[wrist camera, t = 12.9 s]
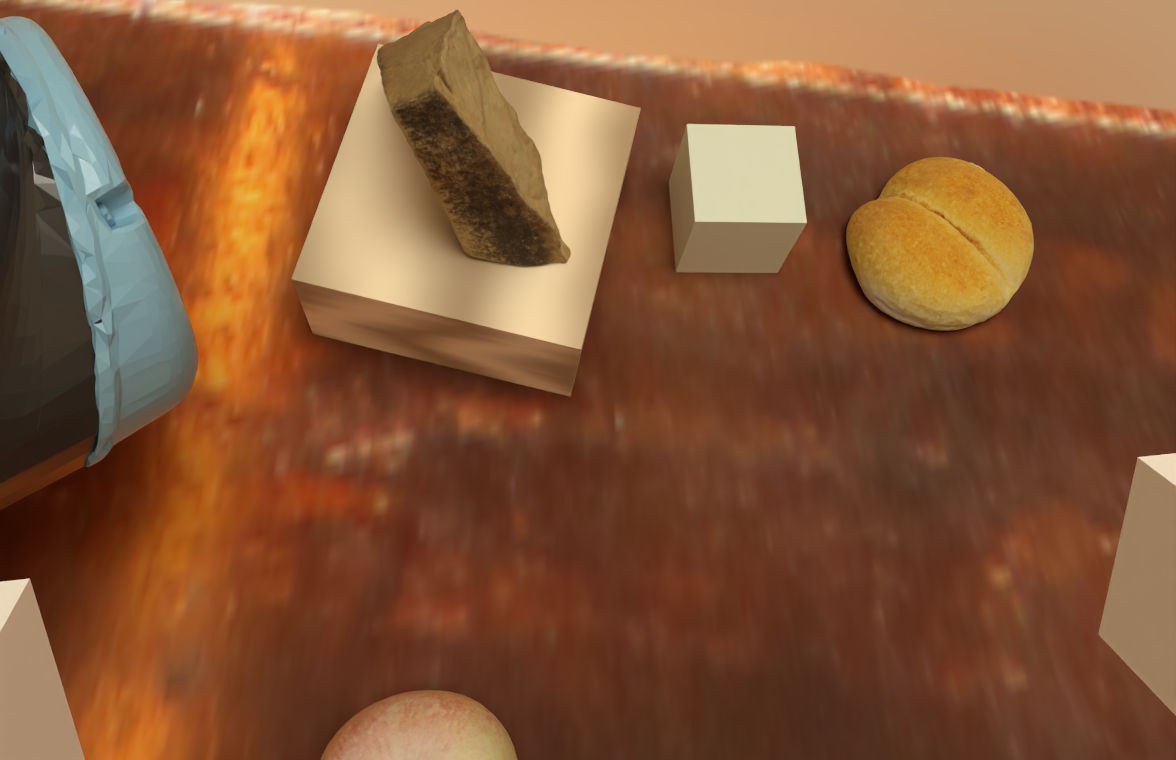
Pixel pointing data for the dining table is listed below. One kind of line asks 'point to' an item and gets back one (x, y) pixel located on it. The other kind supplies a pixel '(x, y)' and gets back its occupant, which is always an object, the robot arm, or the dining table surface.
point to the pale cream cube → (736, 198)
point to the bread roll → (941, 245)
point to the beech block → (436, 258)
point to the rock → (470, 144)
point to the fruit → (422, 730)
